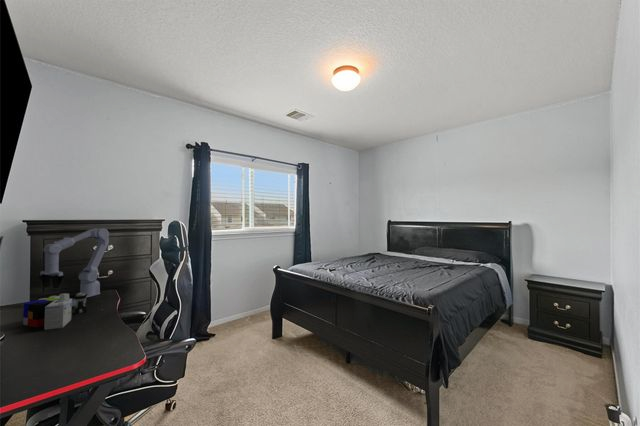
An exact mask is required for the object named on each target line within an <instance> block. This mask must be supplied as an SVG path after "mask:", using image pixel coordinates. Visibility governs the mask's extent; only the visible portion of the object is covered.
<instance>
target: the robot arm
mask: <svg viewBox="0 0 640 426" xmlns="http://www.w3.org/2000/svg"><path fill="white" fill-rule="evenodd" d="M109 237H110V232H109V231H108V229H107V228H98V227H97V228H96V227H94V228H91V229H87V230H86V231H84V232H81V233H80V234H77V235H75V236H73V237H69V236H67V237H66V236H65V237H63V238H62V239H60V240H57V241H53V242H52V243H48V244H46V245H45V246H44V247H43V249H42V251H43V252H44V254H45V255H44V270H42V271H40V274H39V276H38V278H39V279H40V281H41V283H42V286H43V288H44V289H45V288H49V287H50V284H51V281H52V287H53V289H59V287H60V286H61V283H62V280H63V279H64V277H65V275H64V272H63V271H60V270H59V268H60V266H59V264H60V263H59V259H60V252H61V251H63V250H66V249H68V248H70V247H72V246H74V245H75V243H76V242H80V241H83V240H85V239H87V238H93V239H94V240H95V241H96V242H97V244H96V247H95V249H94V251H93V254H92V255H91V257H90V259H89V262H88V263H87V266H86V267H84V268H83V269H82V271H81V272H80V273H79V274H78V280H80V287H79V288H80V289H79V293H85V294H87V296H86V299H87V298H90V297H94V296H98V295H101V283H100V281H99V280H98V273H99V270H98V268H99V265H100V263H101V261H102V258H103V257H104V254H105V252H106V250H107V248H108V246H109V243H110V238H109Z"/></svg>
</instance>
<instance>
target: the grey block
mask: <svg viewBox="0 0 640 426" xmlns="http://www.w3.org/2000/svg"><path fill="white" fill-rule="evenodd" d="M58 296H60V299H69V298H70V293H67V292H66V293H60V294H58Z"/></svg>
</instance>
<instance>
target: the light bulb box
mask: <svg viewBox="0 0 640 426" xmlns="http://www.w3.org/2000/svg"><path fill="white" fill-rule="evenodd" d="M72 299H73V298H71V299H62V300H54V301H53V302H52V303H50V304H49V305H47V306H45V324H44V325H43V327H44V331H46V330H47V331H48V330H55V329H62V328H64V327H65V326H66V325H68V323H69V322H71V320H72V307H73V306H72Z"/></svg>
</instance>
